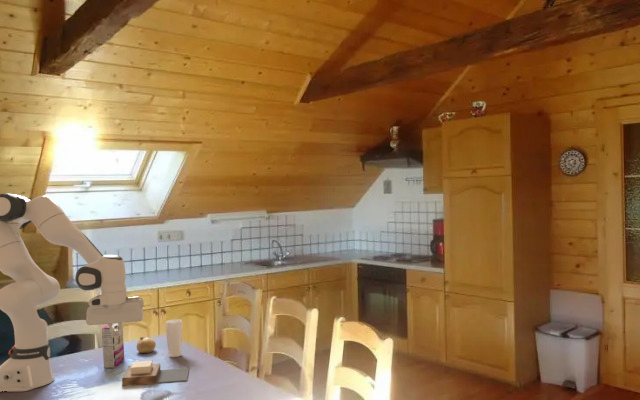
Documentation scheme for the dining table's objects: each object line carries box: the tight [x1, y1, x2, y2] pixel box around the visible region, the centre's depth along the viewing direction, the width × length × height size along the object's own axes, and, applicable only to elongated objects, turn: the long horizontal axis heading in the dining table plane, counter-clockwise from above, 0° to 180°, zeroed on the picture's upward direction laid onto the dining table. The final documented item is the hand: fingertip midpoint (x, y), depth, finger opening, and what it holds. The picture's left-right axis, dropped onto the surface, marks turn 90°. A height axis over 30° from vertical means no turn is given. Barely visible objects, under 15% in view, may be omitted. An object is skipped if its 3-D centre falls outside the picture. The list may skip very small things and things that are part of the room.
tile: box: [130, 360, 153, 374], centre depth 215 cm, size 7×7×2 cm
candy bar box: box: [101, 323, 125, 369], centre depth 233 cm, size 11×5×16 cm, turn 0°
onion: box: [136, 335, 157, 354], centre depth 249 cm, size 8×8×7 cm
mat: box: [156, 367, 190, 384], centre depth 217 cm, size 11×14×1 cm
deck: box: [121, 363, 161, 387], centre depth 215 cm, size 12×14×3 cm
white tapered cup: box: [165, 318, 183, 358], centre depth 242 cm, size 7×7×15 cm
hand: (116, 334), depth 213 cm, fingers closed
